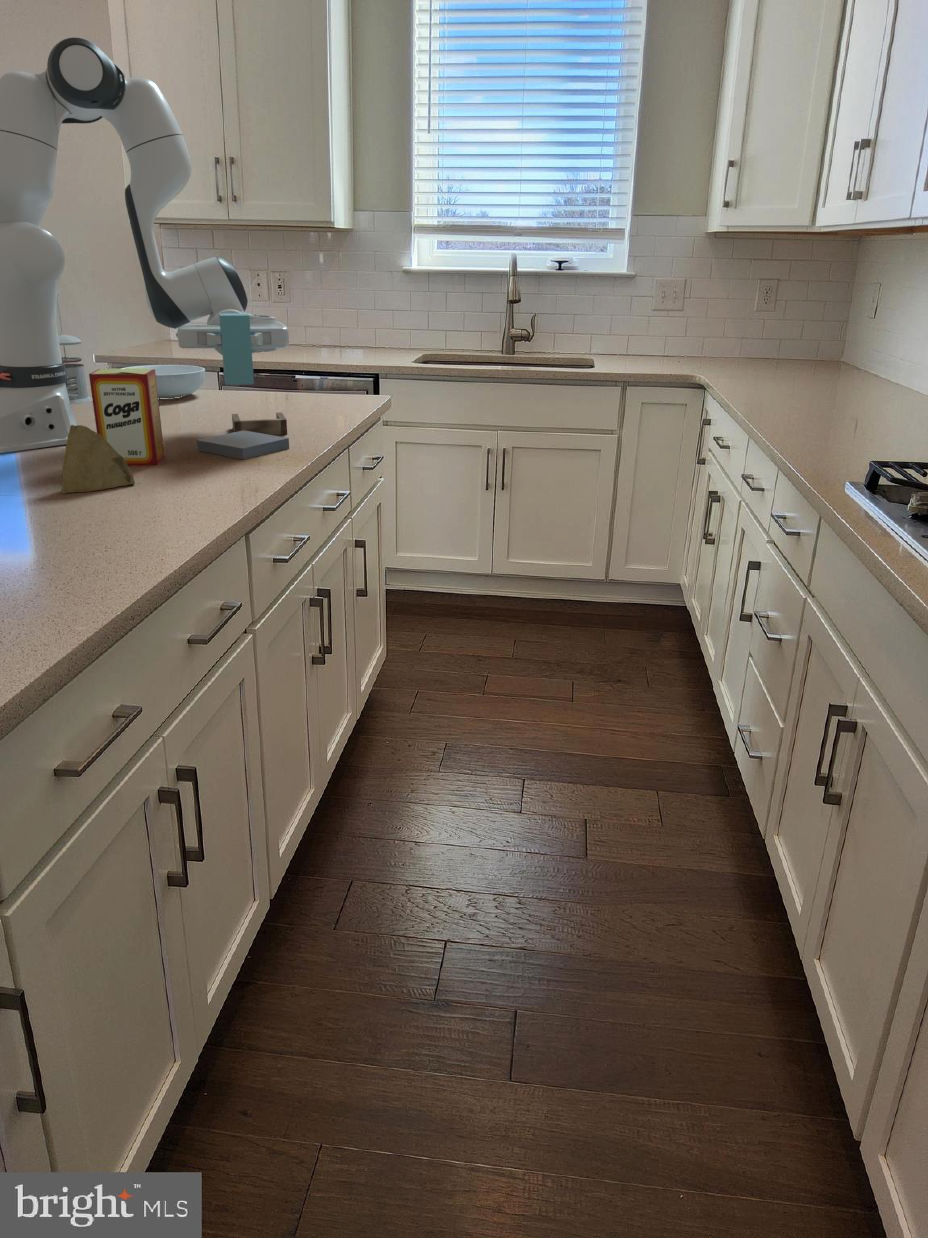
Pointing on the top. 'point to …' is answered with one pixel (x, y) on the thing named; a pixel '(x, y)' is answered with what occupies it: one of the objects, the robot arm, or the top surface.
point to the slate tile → (243, 444)
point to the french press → (74, 370)
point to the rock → (92, 463)
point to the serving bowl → (176, 379)
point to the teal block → (236, 348)
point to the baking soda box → (129, 413)
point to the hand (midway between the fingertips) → (236, 340)
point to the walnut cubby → (261, 425)
